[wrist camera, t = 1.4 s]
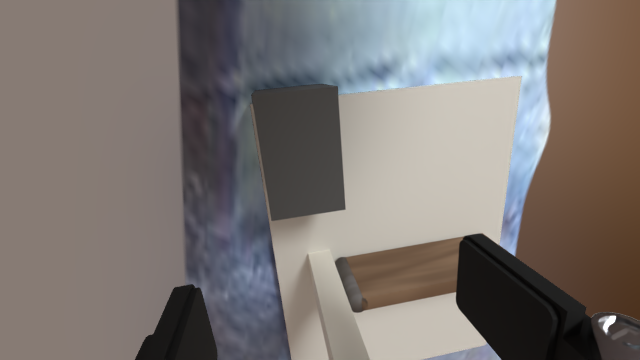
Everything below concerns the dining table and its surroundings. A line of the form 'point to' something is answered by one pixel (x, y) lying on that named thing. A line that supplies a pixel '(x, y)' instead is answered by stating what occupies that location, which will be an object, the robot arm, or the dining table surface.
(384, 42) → the dining table surface
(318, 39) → the dining table surface
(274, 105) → the block
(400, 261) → the wooden slat
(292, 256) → the cream base with post
